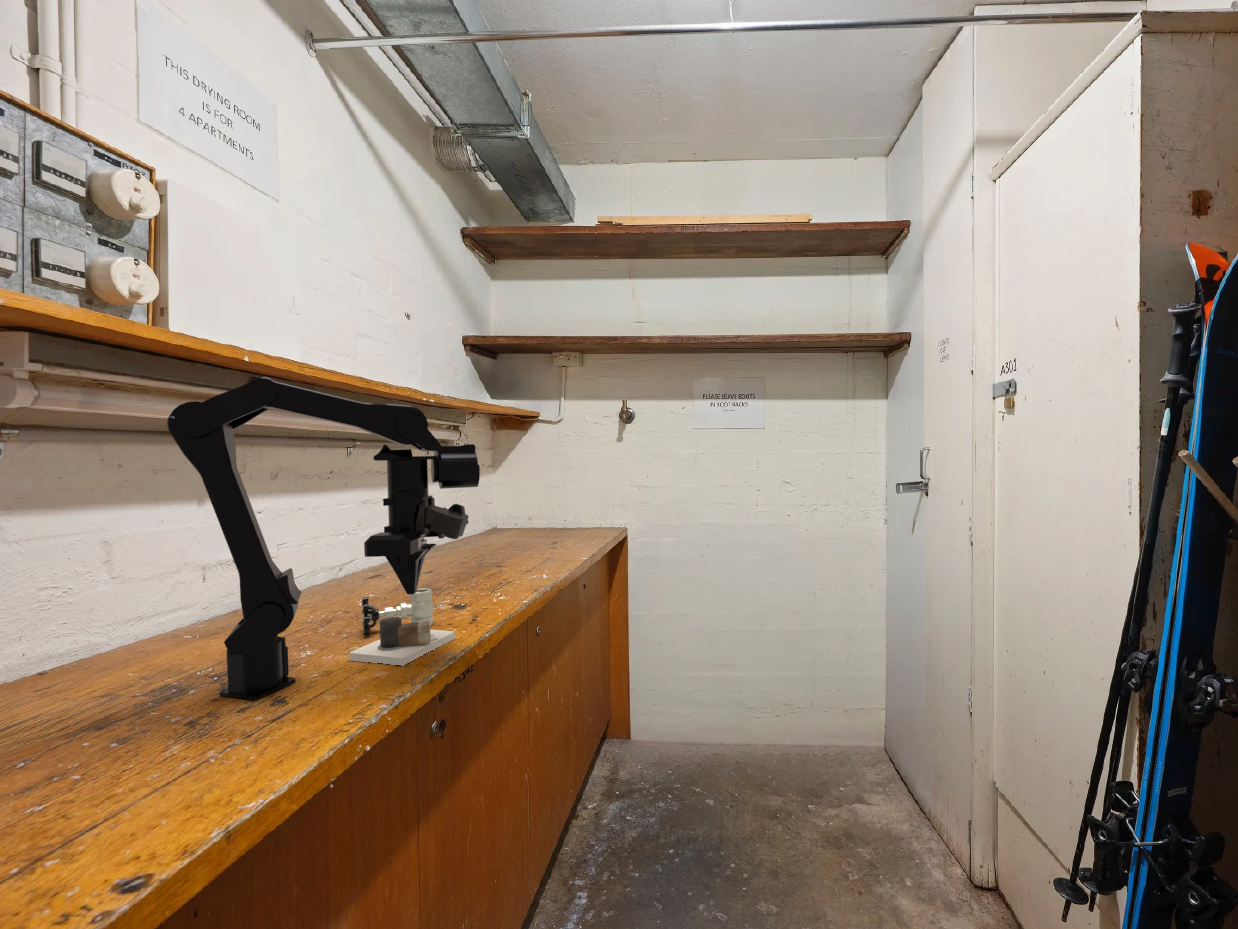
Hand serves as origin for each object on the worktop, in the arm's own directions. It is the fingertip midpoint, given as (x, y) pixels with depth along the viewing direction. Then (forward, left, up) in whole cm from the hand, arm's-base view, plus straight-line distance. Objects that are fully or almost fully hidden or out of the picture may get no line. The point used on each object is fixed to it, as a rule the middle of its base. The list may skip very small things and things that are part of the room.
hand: (411, 593), depth 85 cm
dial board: (+5, +5, -10) cm, 13 cm away
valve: (+14, +14, -11) cm, 22 cm away
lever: (+3, +4, -9) cm, 10 cm away
